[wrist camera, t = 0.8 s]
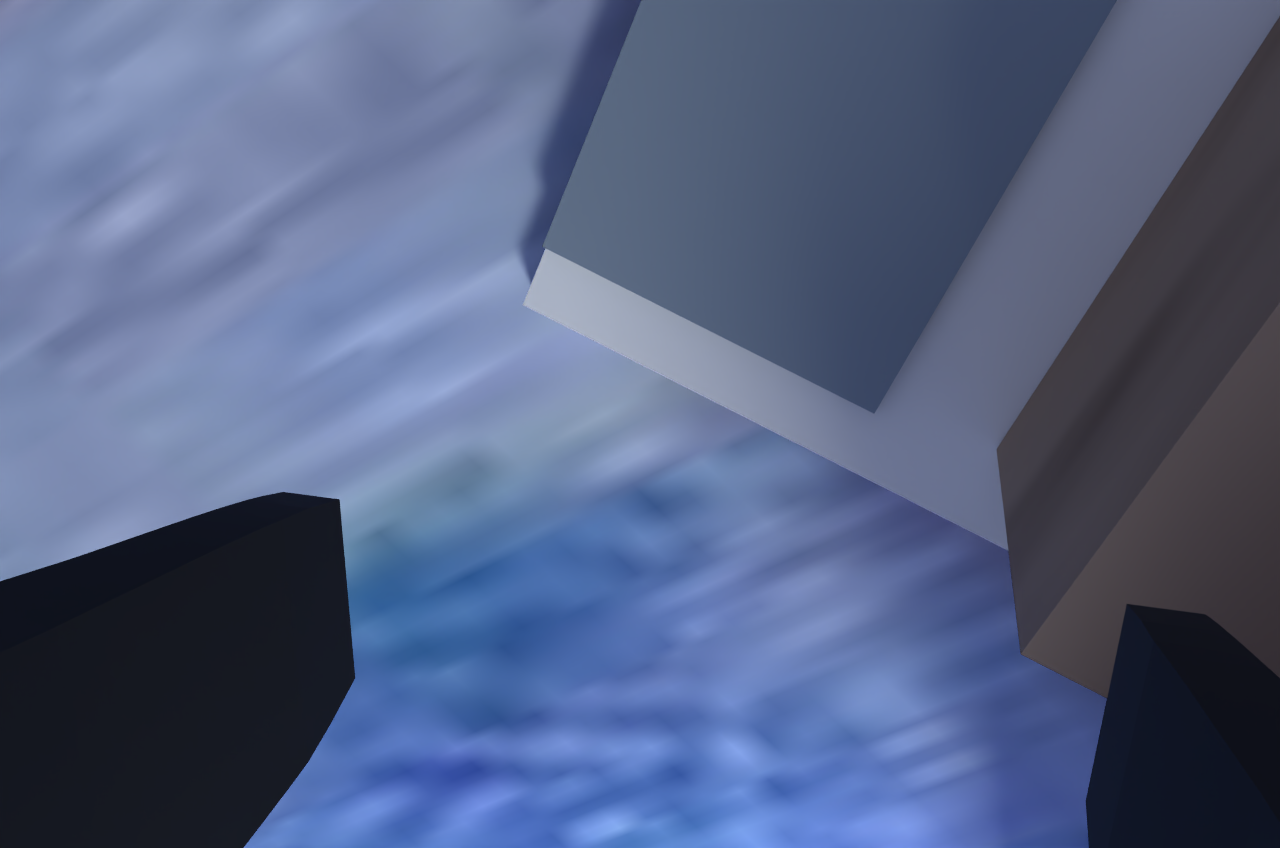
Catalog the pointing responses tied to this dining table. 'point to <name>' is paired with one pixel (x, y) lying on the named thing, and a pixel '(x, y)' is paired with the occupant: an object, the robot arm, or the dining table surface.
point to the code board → (976, 272)
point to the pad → (813, 165)
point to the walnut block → (1164, 417)
